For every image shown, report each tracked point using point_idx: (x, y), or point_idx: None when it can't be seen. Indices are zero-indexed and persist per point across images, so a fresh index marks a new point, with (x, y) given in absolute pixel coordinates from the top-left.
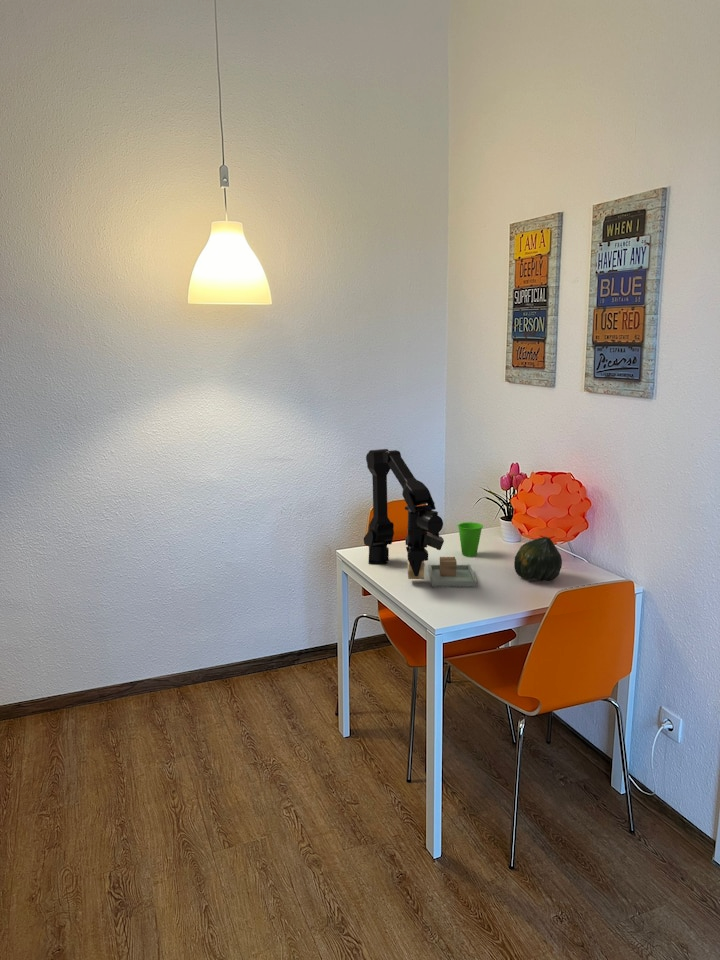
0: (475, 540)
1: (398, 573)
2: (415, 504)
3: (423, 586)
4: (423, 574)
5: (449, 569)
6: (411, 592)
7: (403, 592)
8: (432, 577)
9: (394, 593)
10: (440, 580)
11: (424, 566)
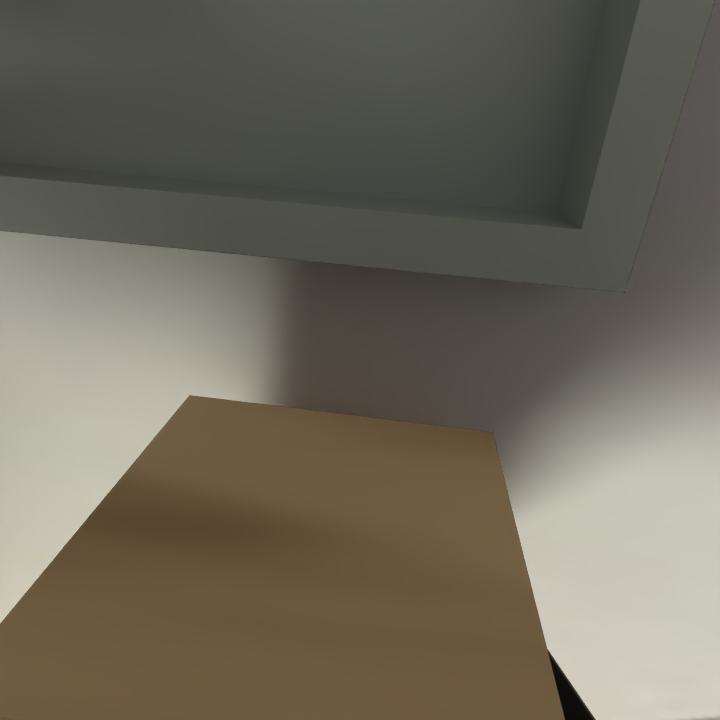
0: None
1: (19, 577)
2: None
3: (514, 388)
4: (507, 512)
5: None
6: (711, 570)
7: (676, 642)
8: (391, 248)
9: (675, 716)
10: (636, 79)
11: (557, 698)
